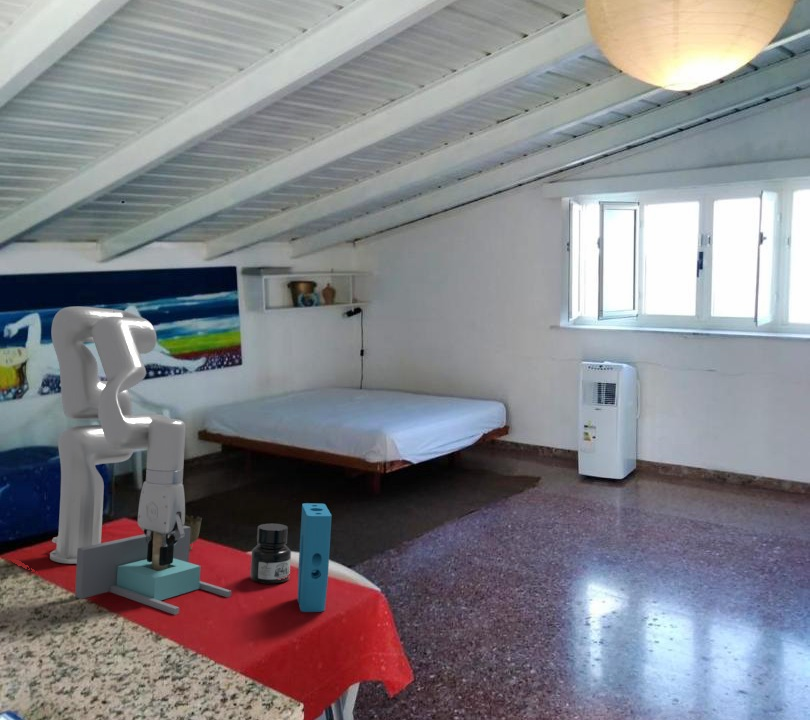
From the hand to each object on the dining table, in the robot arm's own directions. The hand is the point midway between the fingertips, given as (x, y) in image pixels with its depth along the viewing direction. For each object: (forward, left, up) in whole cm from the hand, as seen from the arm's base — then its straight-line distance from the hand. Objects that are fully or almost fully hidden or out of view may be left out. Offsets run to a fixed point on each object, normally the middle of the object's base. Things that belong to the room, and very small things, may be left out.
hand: (159, 561), depth 162 cm
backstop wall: (+3, 0, -6) cm, 7 cm away
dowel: (0, 0, -4) cm, 4 cm away
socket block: (0, 0, -6) cm, 6 cm away
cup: (-20, +25, -6) cm, 33 cm away
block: (+30, +15, -6) cm, 34 cm away
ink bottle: (+12, +22, -6) cm, 26 cm away
